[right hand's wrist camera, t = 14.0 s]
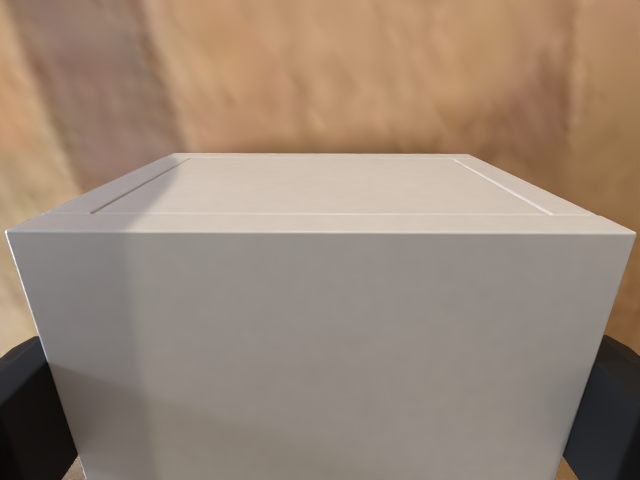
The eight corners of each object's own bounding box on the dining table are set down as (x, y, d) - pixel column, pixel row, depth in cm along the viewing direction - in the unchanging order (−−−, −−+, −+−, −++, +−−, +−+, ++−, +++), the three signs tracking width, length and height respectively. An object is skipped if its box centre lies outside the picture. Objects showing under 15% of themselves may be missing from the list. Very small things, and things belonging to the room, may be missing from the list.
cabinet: (423, 464, 21) (485, 690, 13) (215, 463, 21) (153, 689, 13) (469, 153, 15) (638, 232, 7) (172, 152, 15) (3, 230, 7)
